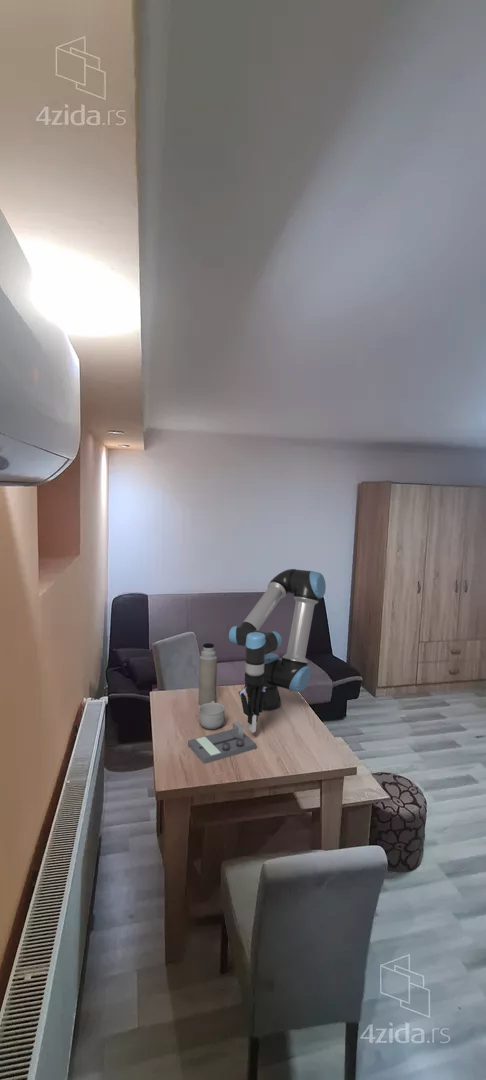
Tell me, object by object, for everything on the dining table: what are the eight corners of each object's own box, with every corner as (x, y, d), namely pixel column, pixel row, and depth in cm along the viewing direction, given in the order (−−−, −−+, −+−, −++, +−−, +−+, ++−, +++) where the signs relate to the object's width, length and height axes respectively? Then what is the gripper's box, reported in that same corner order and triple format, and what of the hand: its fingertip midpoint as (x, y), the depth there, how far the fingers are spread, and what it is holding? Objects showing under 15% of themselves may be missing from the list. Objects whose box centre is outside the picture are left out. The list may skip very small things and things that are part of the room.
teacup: (220, 734, 186) (221, 714, 186) (194, 730, 189) (195, 711, 188) (228, 718, 200) (229, 700, 199) (204, 715, 202) (204, 697, 202)
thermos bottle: (216, 700, 218) (218, 642, 216) (215, 707, 210) (216, 647, 208) (199, 699, 218) (200, 641, 216) (197, 706, 210) (199, 646, 208)
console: (237, 732, 188) (237, 723, 188) (256, 748, 176) (256, 739, 176) (187, 745, 177) (188, 735, 176) (203, 763, 165) (204, 753, 164)
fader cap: (237, 733, 182) (238, 721, 182) (243, 739, 178) (243, 726, 178) (232, 735, 181) (232, 722, 181) (238, 740, 177) (238, 727, 177)
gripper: (263, 667, 188) (260, 723, 190) (235, 672, 181) (233, 730, 183) (273, 673, 181) (271, 731, 183) (245, 678, 175) (243, 738, 176)
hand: (252, 730), depth 183 cm, fingers closed
